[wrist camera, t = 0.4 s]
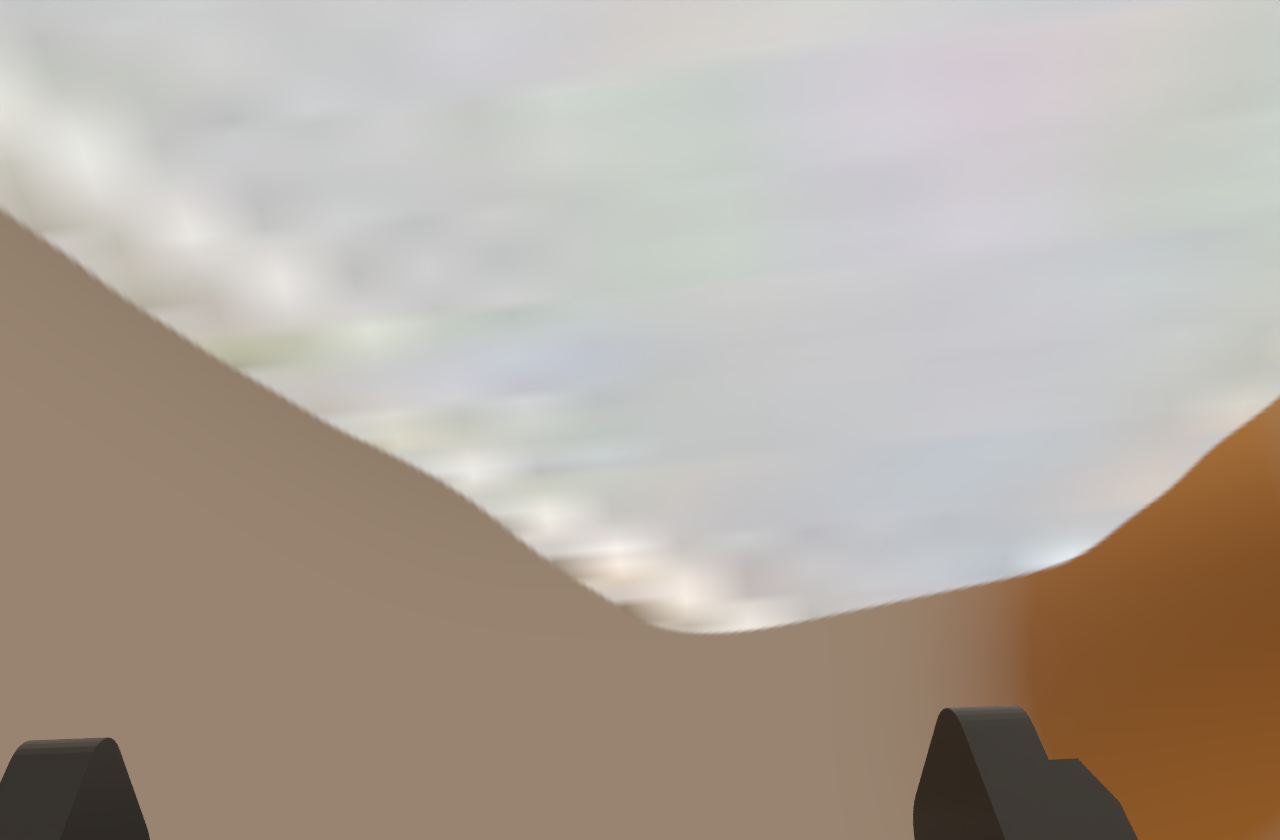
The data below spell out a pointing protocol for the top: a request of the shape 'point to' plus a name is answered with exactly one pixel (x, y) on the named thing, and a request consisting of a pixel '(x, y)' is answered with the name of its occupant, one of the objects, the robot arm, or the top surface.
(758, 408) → the top surface
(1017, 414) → the top surface
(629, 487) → the top surface
